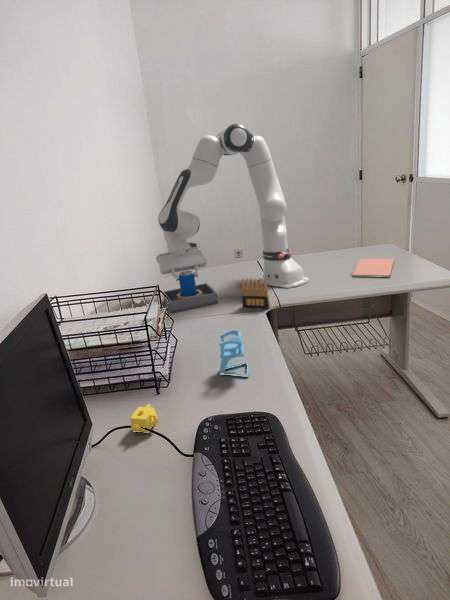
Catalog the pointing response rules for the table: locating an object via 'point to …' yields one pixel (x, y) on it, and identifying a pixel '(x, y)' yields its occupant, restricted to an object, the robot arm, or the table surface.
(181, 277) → the beverage can
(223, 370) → the chair
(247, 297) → the ammunition clip
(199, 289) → the tray
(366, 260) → the notebook
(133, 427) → the yellow block with hole
